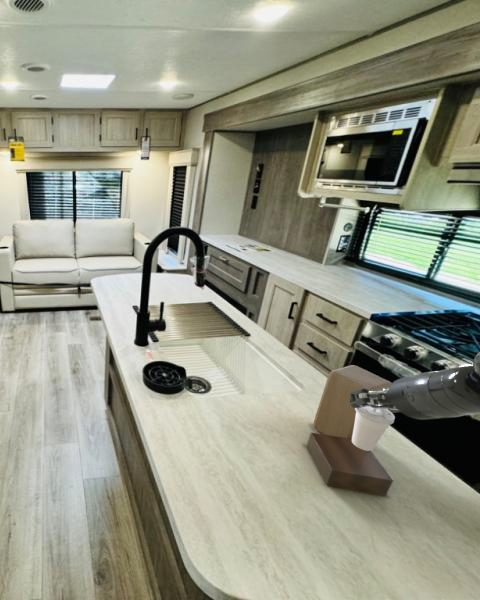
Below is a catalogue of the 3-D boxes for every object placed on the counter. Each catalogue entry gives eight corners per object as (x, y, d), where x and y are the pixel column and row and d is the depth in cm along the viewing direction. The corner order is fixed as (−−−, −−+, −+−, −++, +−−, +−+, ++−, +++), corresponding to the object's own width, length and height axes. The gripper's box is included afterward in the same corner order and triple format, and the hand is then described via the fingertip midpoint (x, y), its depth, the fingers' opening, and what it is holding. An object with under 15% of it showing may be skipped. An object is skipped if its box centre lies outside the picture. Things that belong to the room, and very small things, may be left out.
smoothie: (338, 439, 73) (355, 390, 68) (354, 430, 75) (372, 382, 70) (370, 459, 68) (392, 408, 63) (387, 449, 70) (409, 399, 65)
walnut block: (357, 454, 83) (363, 440, 81) (385, 496, 72) (393, 480, 71) (306, 446, 86) (310, 432, 84) (326, 485, 75) (332, 470, 73)
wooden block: (334, 418, 96) (353, 362, 88) (371, 442, 87) (396, 383, 79) (310, 426, 93) (328, 370, 85) (346, 452, 84) (369, 391, 77)
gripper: (476, 378, 54) (405, 392, 69) (378, 369, 58) (330, 384, 73) (492, 424, 51) (414, 428, 66) (387, 411, 55) (336, 417, 70)
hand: (370, 405), depth 69 cm, fingers closed on smoothie, 6 cm apart
